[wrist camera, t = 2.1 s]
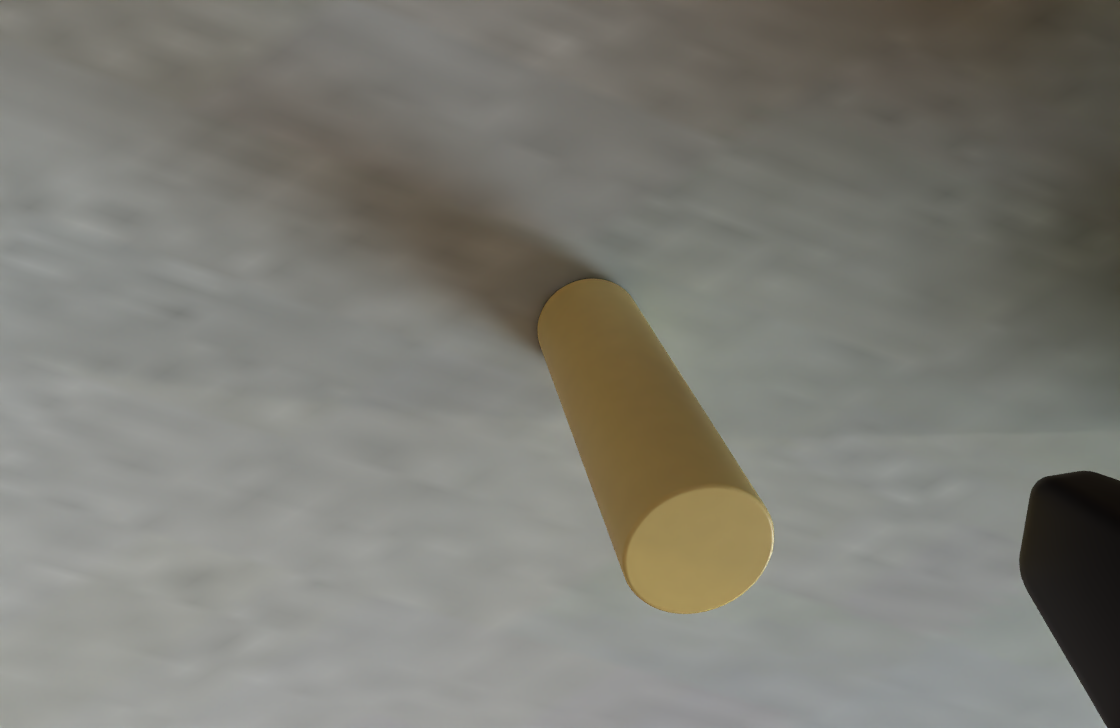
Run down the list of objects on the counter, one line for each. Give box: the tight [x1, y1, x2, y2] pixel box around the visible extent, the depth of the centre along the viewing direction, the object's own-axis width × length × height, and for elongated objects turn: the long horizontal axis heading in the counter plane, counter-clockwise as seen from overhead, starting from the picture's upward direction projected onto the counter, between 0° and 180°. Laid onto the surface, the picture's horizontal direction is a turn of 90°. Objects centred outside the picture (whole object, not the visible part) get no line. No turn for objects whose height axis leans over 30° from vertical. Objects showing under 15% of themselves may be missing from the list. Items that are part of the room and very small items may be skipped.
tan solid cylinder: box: [537, 279, 774, 614], centre depth 17 cm, size 2×2×8 cm
